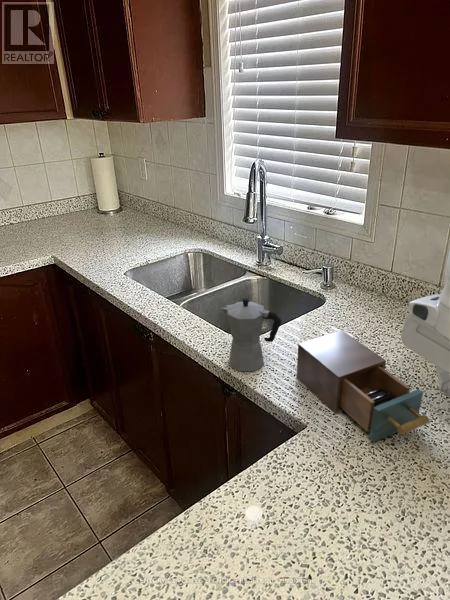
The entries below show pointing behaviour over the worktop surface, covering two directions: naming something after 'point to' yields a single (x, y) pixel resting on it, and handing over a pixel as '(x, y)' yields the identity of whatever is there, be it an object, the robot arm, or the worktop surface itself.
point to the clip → (379, 396)
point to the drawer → (384, 417)
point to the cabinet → (333, 365)
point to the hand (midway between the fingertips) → (448, 393)
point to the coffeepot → (248, 333)
